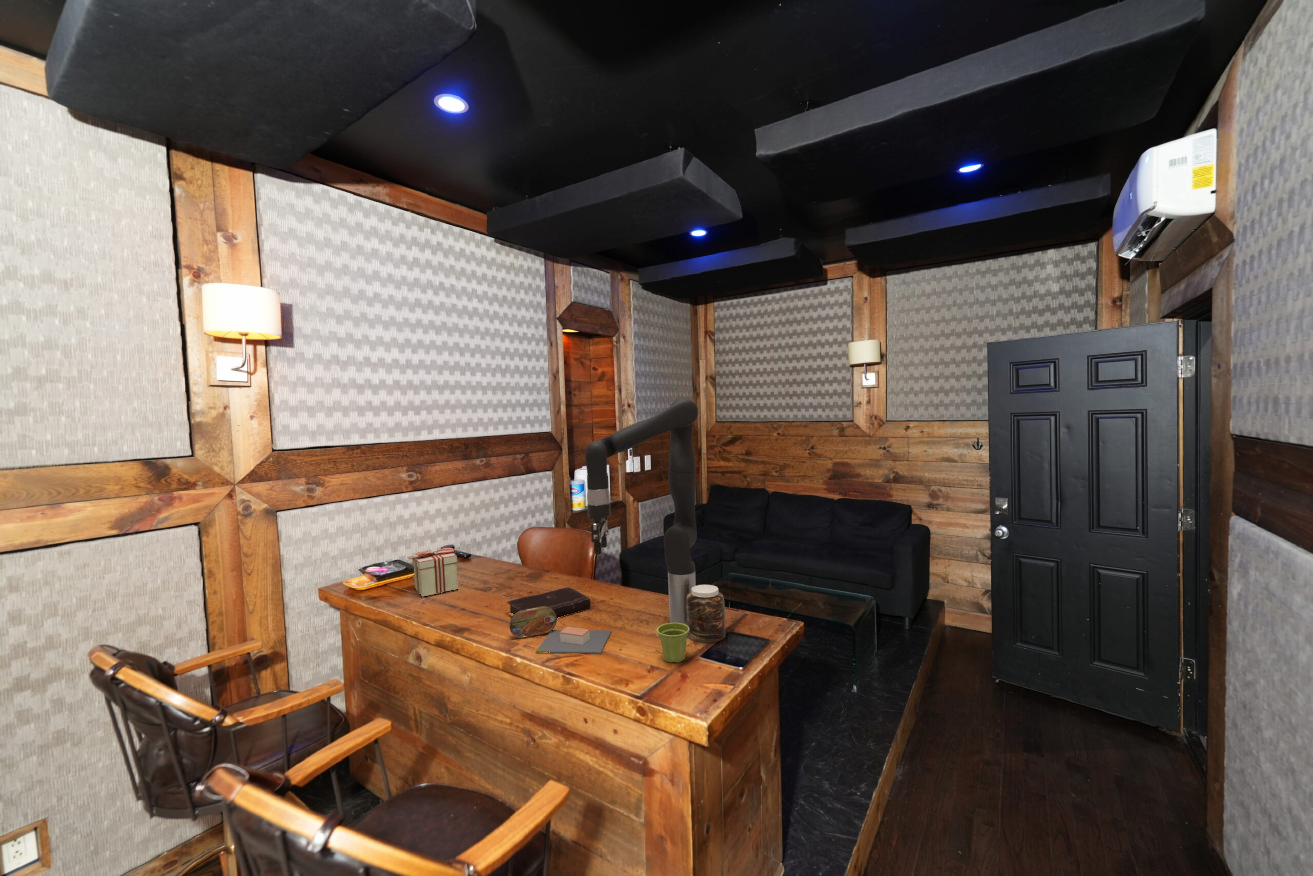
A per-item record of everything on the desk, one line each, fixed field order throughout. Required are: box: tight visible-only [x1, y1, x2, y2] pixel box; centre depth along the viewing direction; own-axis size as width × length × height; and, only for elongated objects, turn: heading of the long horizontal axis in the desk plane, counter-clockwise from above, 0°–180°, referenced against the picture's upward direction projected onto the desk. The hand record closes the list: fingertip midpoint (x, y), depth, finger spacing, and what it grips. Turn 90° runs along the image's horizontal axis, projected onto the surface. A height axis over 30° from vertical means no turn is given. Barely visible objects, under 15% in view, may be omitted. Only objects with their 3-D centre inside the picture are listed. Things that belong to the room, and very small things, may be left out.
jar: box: [687, 584, 727, 644], centre depth 167 cm, size 12×12×15 cm
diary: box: [506, 586, 592, 619], centre depth 194 cm, size 19×25×5 cm
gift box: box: [407, 546, 459, 596], centre depth 224 cm, size 17×18×17 cm
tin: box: [508, 606, 558, 639], centre depth 173 cm, size 15×3×8 cm, turn 106°
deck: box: [560, 626, 591, 645], centre depth 166 cm, size 4×8×3 cm, turn 68°
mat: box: [535, 629, 612, 655], centre depth 166 cm, size 20×16×1 cm
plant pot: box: [656, 622, 689, 664], centre depth 152 cm, size 9×9×9 cm
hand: (600, 550), depth 175 cm, fingers open, 8 cm apart
